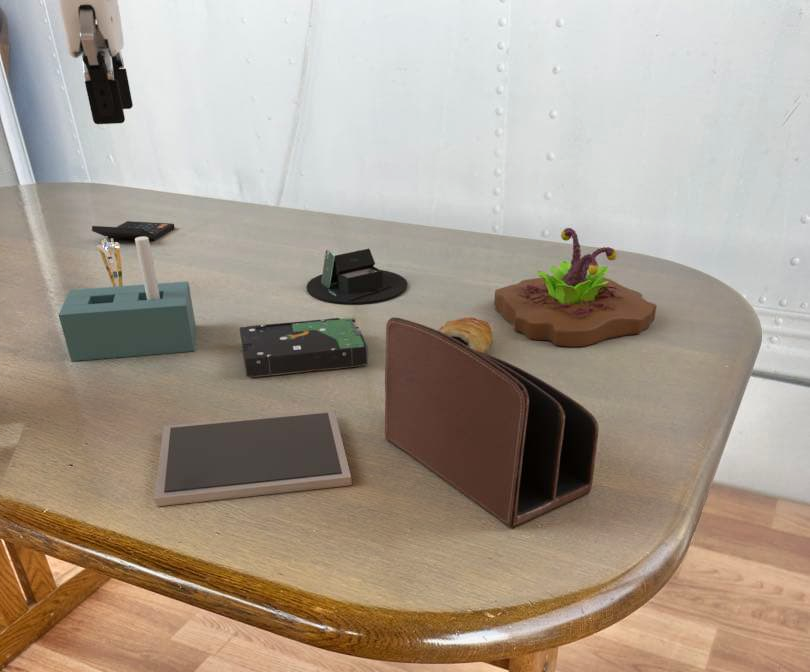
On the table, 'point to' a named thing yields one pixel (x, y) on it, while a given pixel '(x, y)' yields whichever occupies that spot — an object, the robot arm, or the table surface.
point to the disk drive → (302, 346)
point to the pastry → (470, 333)
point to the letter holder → (485, 424)
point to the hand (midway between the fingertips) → (114, 115)
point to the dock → (128, 321)
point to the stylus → (147, 268)
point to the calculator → (135, 230)
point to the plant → (574, 303)
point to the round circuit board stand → (355, 280)
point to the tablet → (251, 457)
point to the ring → (111, 260)
